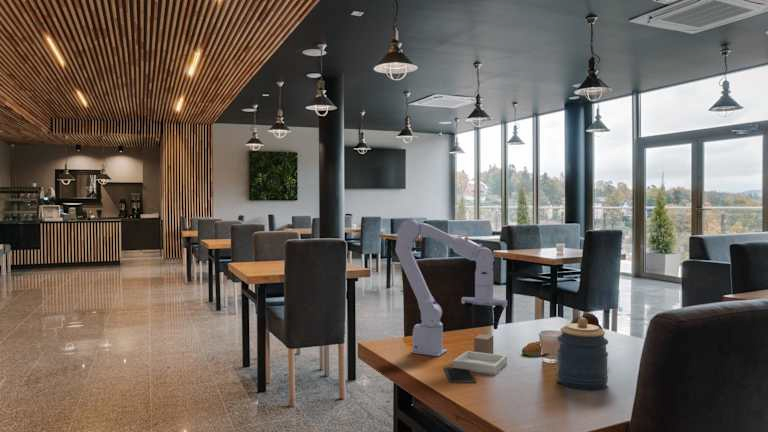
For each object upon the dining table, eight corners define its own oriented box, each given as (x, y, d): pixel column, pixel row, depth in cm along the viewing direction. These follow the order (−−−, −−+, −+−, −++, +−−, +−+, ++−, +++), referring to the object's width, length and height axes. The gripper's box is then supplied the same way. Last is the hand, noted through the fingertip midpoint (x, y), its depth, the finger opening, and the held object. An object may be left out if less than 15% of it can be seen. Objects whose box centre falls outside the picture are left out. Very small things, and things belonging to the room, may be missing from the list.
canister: (602, 394, 140) (603, 324, 140) (551, 385, 147) (551, 319, 147) (611, 380, 151) (612, 316, 151) (563, 373, 158) (564, 311, 158)
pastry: (533, 359, 173) (533, 347, 173) (516, 354, 179) (516, 343, 178) (550, 354, 179) (550, 342, 179) (533, 350, 184) (533, 338, 184)
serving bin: (453, 368, 161) (453, 360, 161) (467, 358, 172) (467, 350, 172) (495, 375, 155) (495, 366, 155) (506, 364, 167) (506, 355, 167)
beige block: (473, 356, 175) (474, 337, 175) (479, 352, 181) (479, 334, 181) (487, 358, 173) (487, 339, 173) (493, 354, 179) (493, 335, 178)
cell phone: (468, 369, 162) (468, 367, 162) (477, 384, 148) (477, 381, 148) (443, 369, 162) (443, 367, 162) (450, 384, 148) (450, 381, 148)
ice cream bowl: (605, 358, 173) (605, 311, 173) (603, 368, 163) (603, 317, 163) (569, 354, 178) (570, 308, 177) (565, 363, 167) (565, 314, 167)
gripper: (458, 285, 176) (458, 327, 177) (503, 288, 170) (502, 332, 170) (465, 282, 183) (465, 323, 183) (509, 285, 176) (508, 328, 176)
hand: (483, 327), depth 177 cm, fingers open, 7 cm apart
